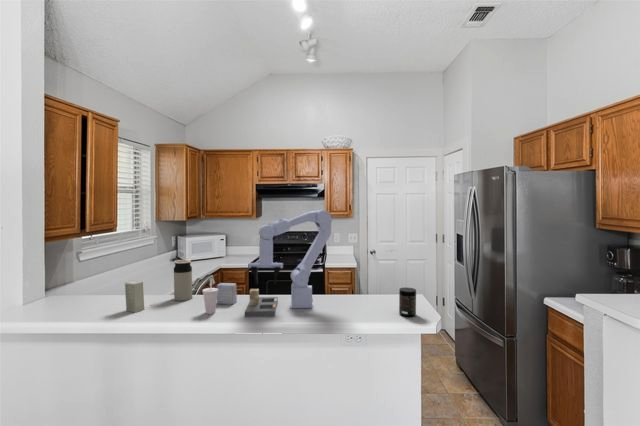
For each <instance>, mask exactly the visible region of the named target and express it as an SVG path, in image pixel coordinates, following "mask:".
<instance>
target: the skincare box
mask: <svg viewBox="0 0 640 426" xmlns="http://www.w3.org/2000/svg"><path fill="white" fill-rule="evenodd" d="M124 293H125V308H126V309H125V310H126V312H132V313H138V312H141V311H143V310H145V298H144V296H145V295H144V281H138V280H131V281H128V282H125V283H124Z"/></svg>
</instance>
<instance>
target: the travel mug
mask: <svg viewBox="0 0 640 426" xmlns="http://www.w3.org/2000/svg"><path fill="white" fill-rule="evenodd" d="M173 262H174V267H173V294H174V295H173V297H174V300H175V301H178V302H183V301H185V302H186V301H189V300H191V299H192V298H193V271H192V270H193V267H192V265H191V262H192V260H191V259H178V260H174V261H173Z"/></svg>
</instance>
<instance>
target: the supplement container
mask: <svg viewBox="0 0 640 426" xmlns="http://www.w3.org/2000/svg"><path fill="white" fill-rule="evenodd" d="M398 290H399V292H398V295H399V297H398V298H399V299H398V302H399V305H398V308H399V309H398V315H400V316H401V317H404V318H413V316H414V317H415V316H416V315H417V289H416V288H413V287H400V288H399V289H398Z"/></svg>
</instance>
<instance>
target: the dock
mask: <svg viewBox="0 0 640 426" xmlns="http://www.w3.org/2000/svg"><path fill="white" fill-rule="evenodd" d="M278 301H279V297H278V296H266V297H265V296H263V297H261V296H259V303H258V305H250V301H249V302H248V304H247V306H246V309H245V310H244V317H275V316H276V311H277V306H278V303H279V302H278Z"/></svg>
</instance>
